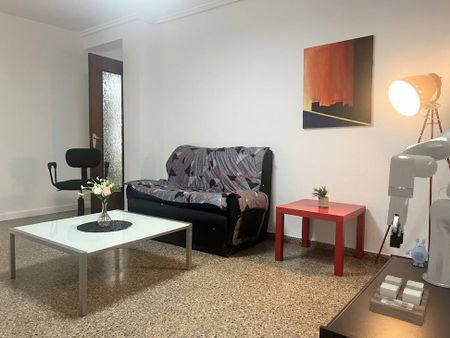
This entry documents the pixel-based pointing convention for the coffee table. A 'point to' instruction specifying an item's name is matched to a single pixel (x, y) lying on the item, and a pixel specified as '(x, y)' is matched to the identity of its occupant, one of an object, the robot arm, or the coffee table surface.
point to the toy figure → (418, 253)
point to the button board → (399, 306)
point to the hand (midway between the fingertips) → (396, 244)
